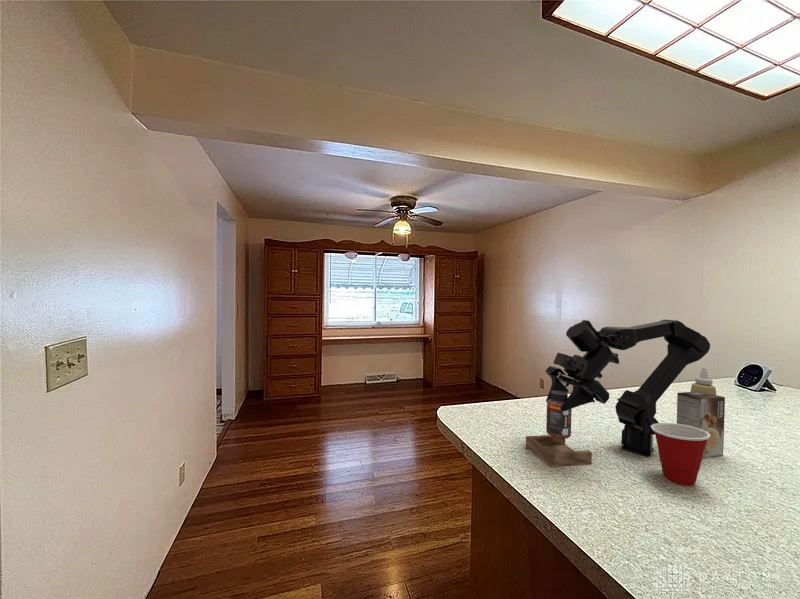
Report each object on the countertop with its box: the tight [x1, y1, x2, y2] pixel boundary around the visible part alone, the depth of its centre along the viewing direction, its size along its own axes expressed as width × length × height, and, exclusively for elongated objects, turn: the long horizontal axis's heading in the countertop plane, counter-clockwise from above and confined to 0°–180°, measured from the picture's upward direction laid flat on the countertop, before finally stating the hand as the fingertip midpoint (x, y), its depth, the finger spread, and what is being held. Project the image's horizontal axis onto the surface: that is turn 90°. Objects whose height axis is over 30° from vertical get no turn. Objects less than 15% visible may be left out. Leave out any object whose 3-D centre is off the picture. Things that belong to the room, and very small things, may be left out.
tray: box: [525, 434, 593, 468], centre depth 91 cm, size 11×11×3 cm
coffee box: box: [676, 391, 726, 459], centre depth 96 cm, size 9×6×16 cm
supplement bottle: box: [545, 391, 573, 440], centre depth 91 cm, size 6×6×11 cm
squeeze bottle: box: [690, 367, 717, 395], centre depth 124 cm, size 8×8×18 cm
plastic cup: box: [651, 422, 710, 487], centre depth 81 cm, size 11×11×12 cm
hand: (554, 406), depth 91 cm, fingers closed on supplement bottle, 6 cm apart
